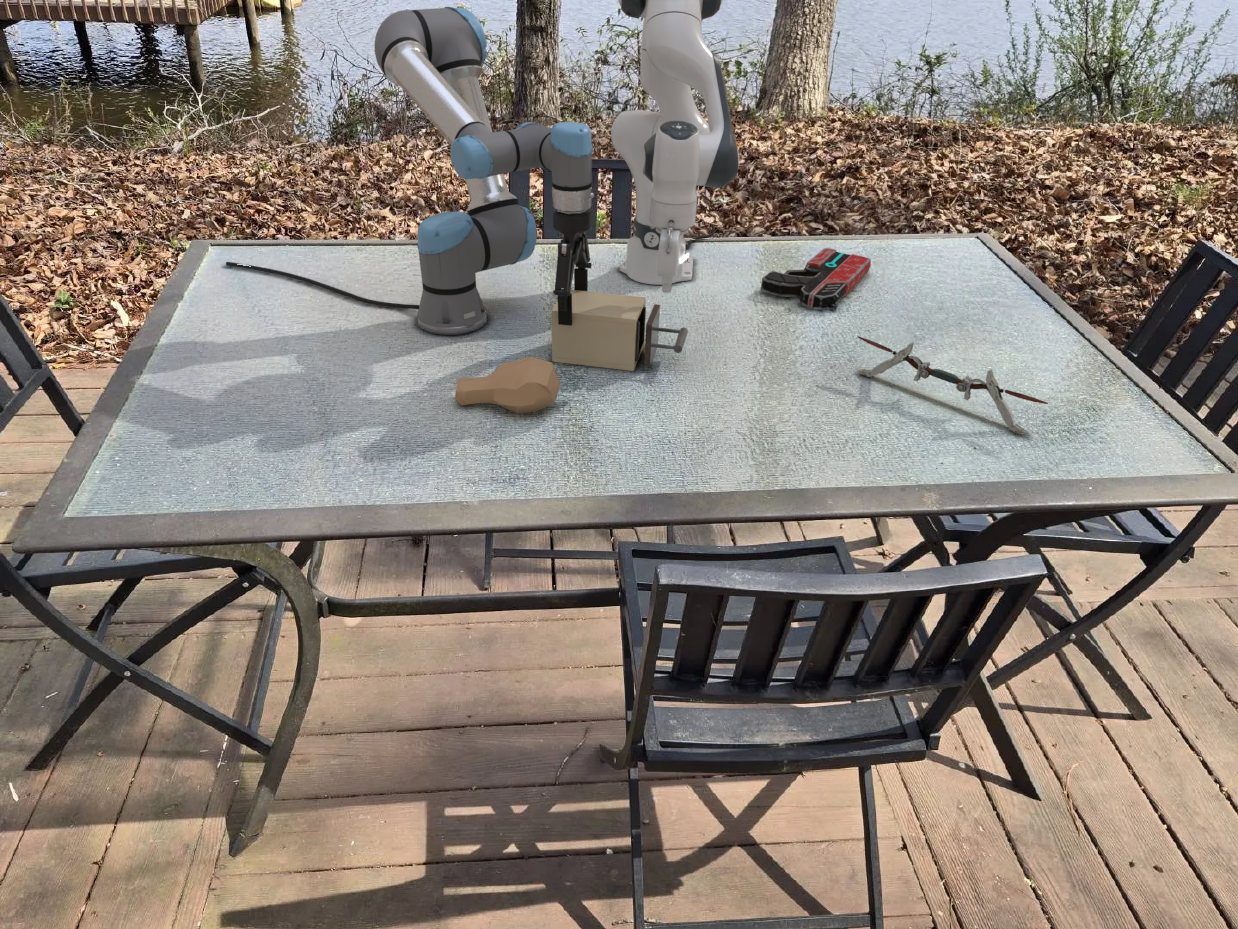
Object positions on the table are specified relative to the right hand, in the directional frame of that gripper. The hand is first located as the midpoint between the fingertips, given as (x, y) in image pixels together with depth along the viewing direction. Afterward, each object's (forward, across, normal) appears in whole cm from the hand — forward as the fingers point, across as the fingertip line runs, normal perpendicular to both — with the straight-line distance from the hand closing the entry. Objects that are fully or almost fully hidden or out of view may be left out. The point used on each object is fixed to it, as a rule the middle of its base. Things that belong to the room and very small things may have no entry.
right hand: (668, 282), depth 175 cm
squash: (+18, -24, +28) cm, 40 cm away
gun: (+16, +47, -35) cm, 61 cm away
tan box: (+17, 0, +14) cm, 22 cm away
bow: (+17, -10, -55) cm, 58 cm away
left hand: (+8, 0, +19) cm, 21 cm away
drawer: (+16, 0, +7) cm, 17 cm away
